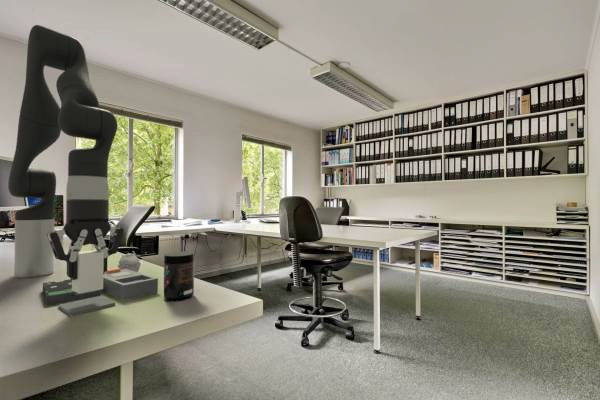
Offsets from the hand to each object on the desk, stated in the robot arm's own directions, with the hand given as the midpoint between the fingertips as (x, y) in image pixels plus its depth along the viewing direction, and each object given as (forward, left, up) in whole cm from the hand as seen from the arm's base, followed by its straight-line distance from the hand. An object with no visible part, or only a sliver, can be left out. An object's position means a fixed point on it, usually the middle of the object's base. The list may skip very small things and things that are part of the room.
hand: (87, 276), depth 65 cm
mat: (0, 0, -6) cm, 6 cm away
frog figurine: (-21, +17, -7) cm, 28 cm away
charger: (0, 0, -3) cm, 3 cm away
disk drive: (-14, +1, -7) cm, 16 cm away
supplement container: (+10, +16, -7) cm, 20 cm away
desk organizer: (-10, +10, -7) cm, 16 cm away
